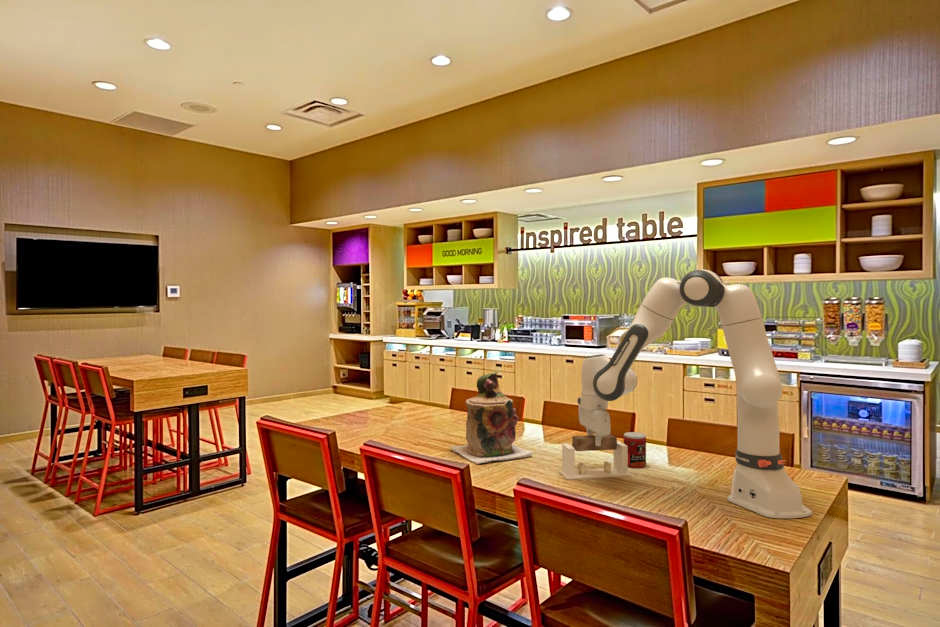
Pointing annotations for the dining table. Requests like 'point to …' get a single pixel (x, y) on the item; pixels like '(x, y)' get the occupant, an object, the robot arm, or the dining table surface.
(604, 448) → the brown rectangular bar
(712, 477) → the dining table surface
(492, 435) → the cookie jar
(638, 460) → the canned food
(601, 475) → the peg frame
